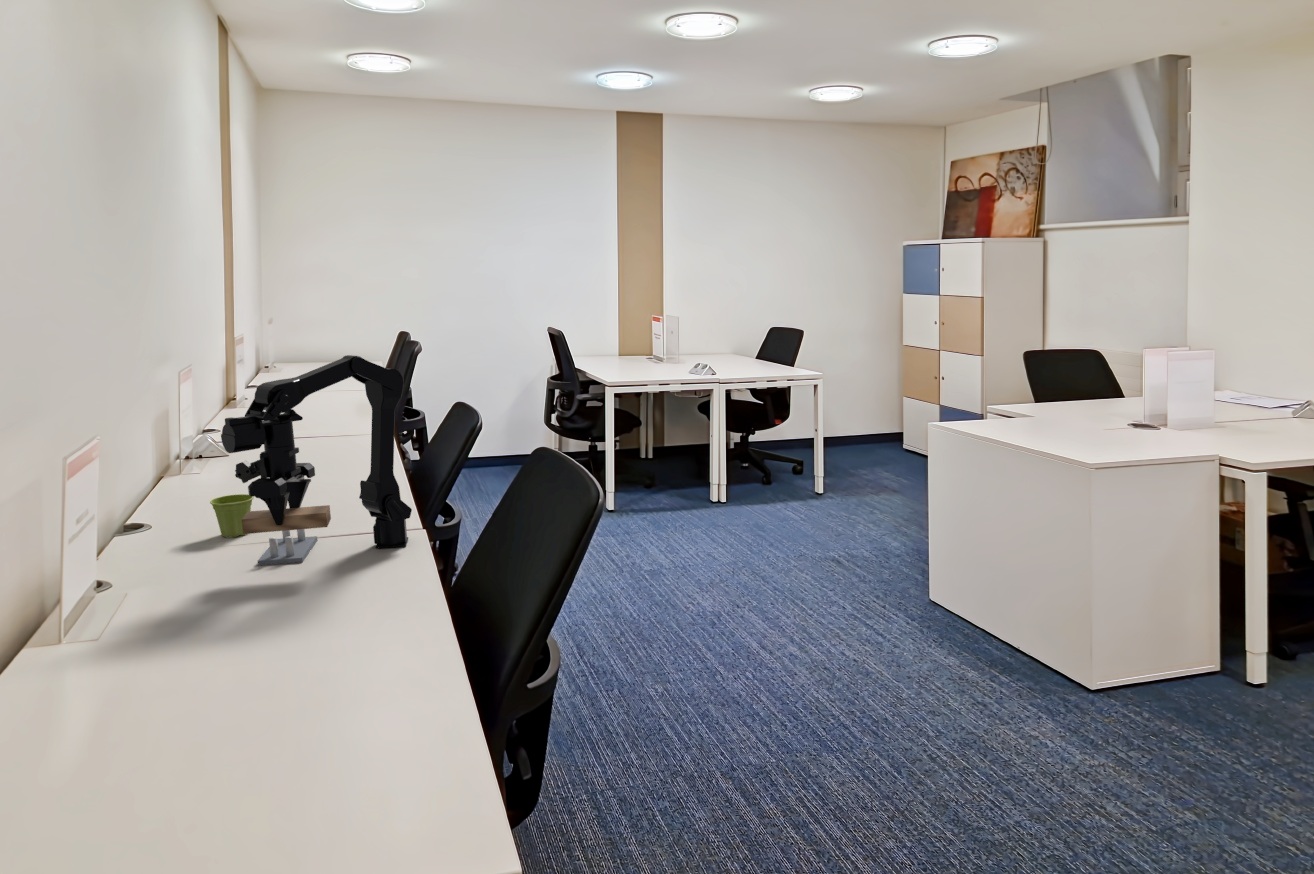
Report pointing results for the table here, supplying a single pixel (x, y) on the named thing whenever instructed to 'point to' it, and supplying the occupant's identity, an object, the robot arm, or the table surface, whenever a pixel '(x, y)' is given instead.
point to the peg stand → (288, 548)
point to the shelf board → (287, 519)
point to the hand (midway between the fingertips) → (287, 520)
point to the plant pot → (231, 513)
